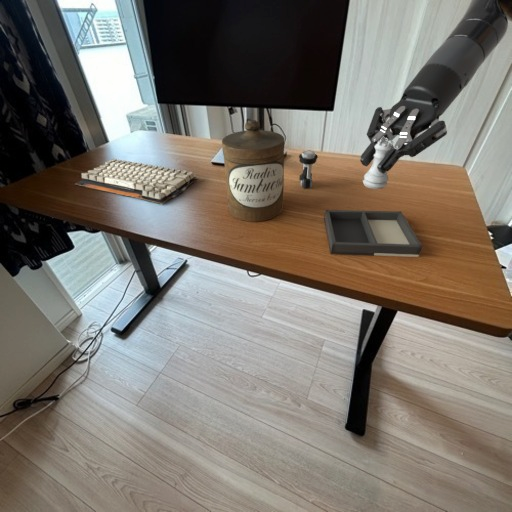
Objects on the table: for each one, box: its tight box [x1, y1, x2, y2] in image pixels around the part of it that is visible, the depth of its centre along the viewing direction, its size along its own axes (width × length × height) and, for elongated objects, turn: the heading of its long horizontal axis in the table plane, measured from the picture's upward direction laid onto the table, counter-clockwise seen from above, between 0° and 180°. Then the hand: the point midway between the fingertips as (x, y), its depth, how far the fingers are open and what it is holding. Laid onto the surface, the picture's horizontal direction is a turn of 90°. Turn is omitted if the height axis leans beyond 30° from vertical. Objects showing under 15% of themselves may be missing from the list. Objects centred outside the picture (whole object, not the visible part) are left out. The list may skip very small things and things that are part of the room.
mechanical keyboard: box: [73, 158, 197, 205], centre depth 88 cm, size 38×19×3 cm, turn 66°
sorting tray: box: [323, 209, 424, 258], centre depth 61 cm, size 18×14×3 cm
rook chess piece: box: [362, 138, 395, 190], centre depth 49 cm, size 4×4×8 cm
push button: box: [298, 150, 319, 190], centre depth 81 cm, size 7×5×10 cm
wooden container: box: [221, 119, 285, 222], centre depth 67 cm, size 15×15×22 cm
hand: (371, 166), depth 48 cm, fingers closed on rook chess piece, 3 cm apart
